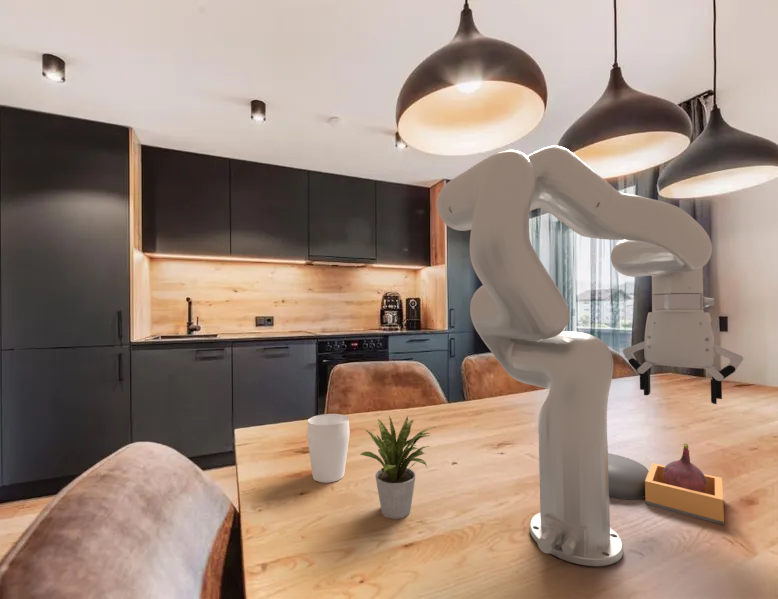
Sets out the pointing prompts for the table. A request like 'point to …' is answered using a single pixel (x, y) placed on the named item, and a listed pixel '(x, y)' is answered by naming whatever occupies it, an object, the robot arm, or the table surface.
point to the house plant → (396, 468)
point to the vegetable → (685, 473)
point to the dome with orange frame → (664, 489)
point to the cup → (328, 446)
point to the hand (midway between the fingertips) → (679, 398)
